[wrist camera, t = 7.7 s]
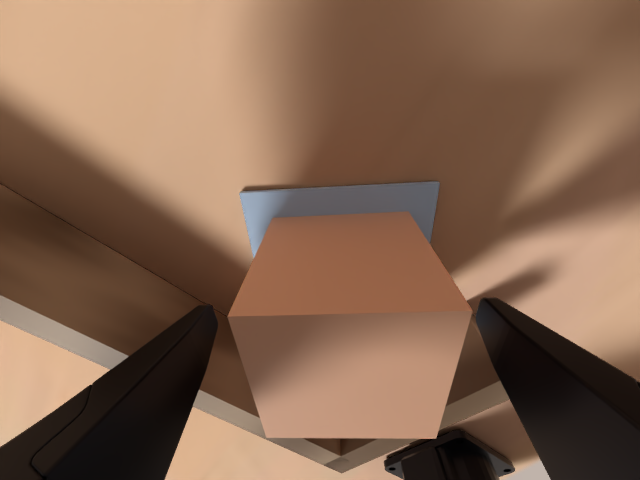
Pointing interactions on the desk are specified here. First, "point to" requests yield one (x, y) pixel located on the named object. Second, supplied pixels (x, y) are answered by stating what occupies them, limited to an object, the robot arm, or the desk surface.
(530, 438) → the robot arm
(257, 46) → the desk surface
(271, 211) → the pad
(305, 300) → the cube
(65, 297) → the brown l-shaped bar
